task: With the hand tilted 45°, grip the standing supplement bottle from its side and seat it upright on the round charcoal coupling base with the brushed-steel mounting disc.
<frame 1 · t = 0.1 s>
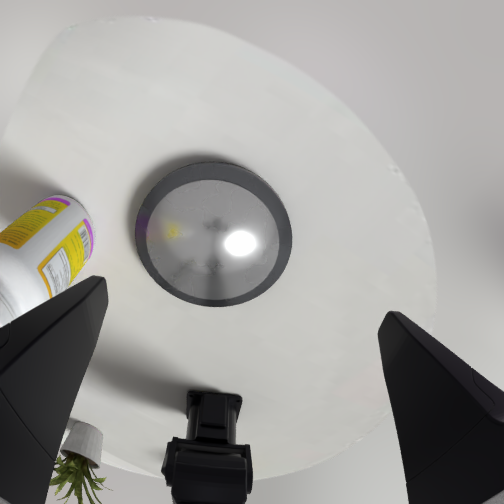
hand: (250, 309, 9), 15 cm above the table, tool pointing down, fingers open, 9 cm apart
coupling base: (212, 237, 24), on the table
house plant: (96, 432, 41), on the table
supplement bottle: (67, 228, 24), on the table
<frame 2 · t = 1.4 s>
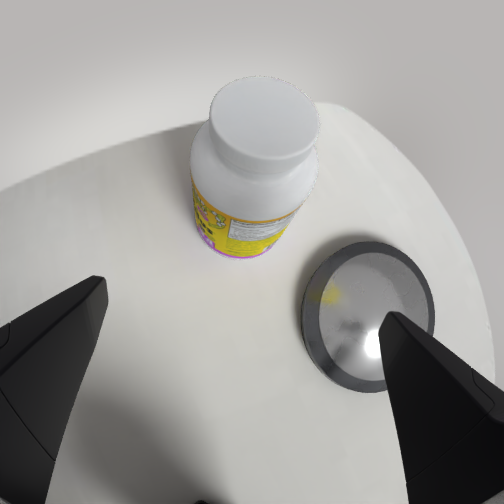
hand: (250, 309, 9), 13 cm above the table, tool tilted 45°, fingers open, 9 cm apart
coupling base: (371, 317, 24), on the table
supplement bottle: (238, 221, 25), on the table
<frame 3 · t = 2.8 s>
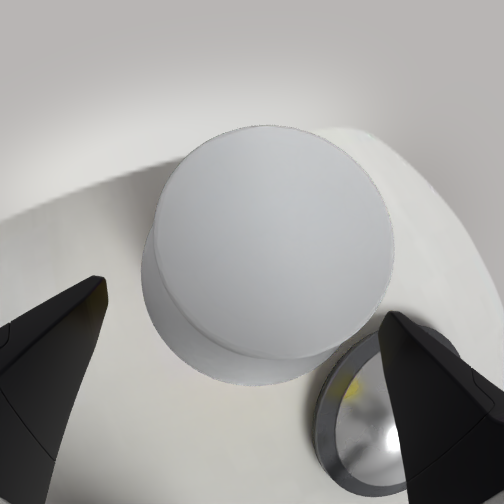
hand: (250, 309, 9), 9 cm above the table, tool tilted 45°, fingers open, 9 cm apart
coupling base: (397, 413, 17), on the table
supplement bottle: (233, 305, 18), on the table
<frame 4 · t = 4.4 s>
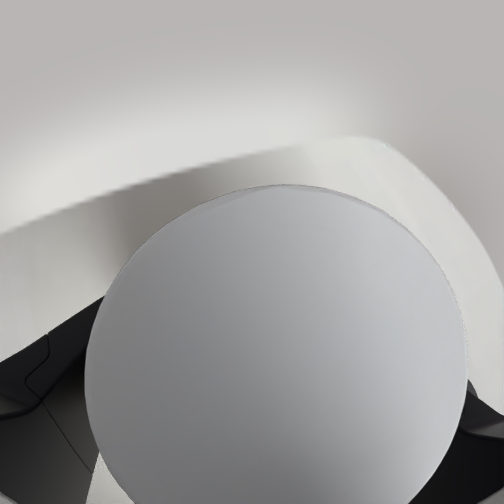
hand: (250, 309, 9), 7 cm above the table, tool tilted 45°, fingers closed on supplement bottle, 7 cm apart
supplement bottle: (231, 348, 15), on the table, touching gripper
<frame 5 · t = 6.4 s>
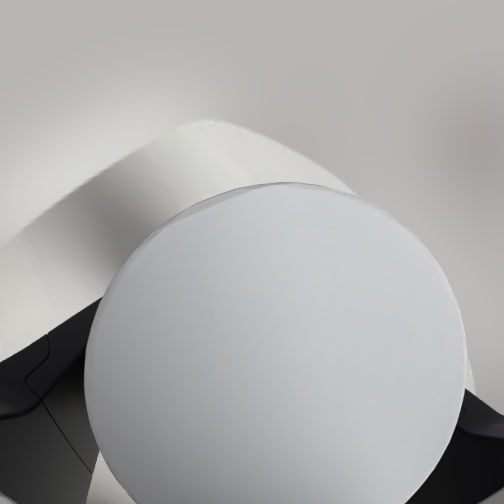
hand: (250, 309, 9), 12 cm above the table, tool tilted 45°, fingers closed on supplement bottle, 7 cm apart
supplement bottle: (230, 347, 15), point 5 cm above the table, touching gripper
when the fingers open (8 cm above the table, at t = 8.7 s): supplement bottle stays where it is, resting on coupling base.
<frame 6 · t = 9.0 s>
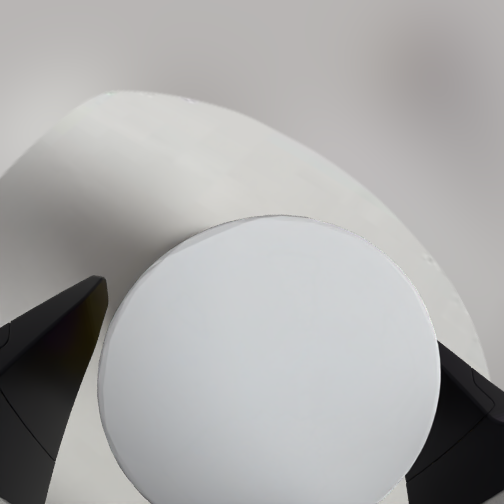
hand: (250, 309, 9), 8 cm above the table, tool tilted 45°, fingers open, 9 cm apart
supplement bottle: (229, 351, 16), point 1 cm above the table, touching coupling base
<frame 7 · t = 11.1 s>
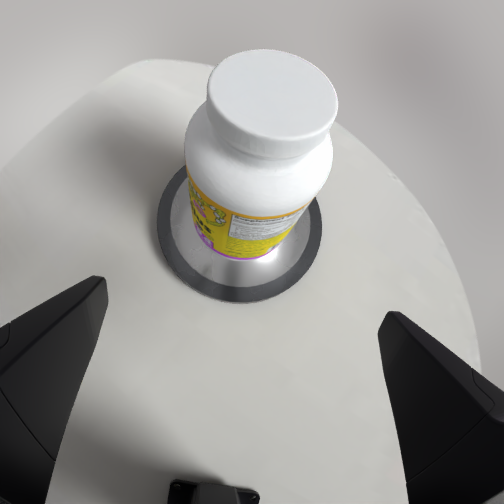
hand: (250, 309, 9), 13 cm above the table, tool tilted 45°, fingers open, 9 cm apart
coupling base: (239, 222, 23), on the table
supplement bottle: (240, 219, 22), point 1 cm above the table, touching coupling base
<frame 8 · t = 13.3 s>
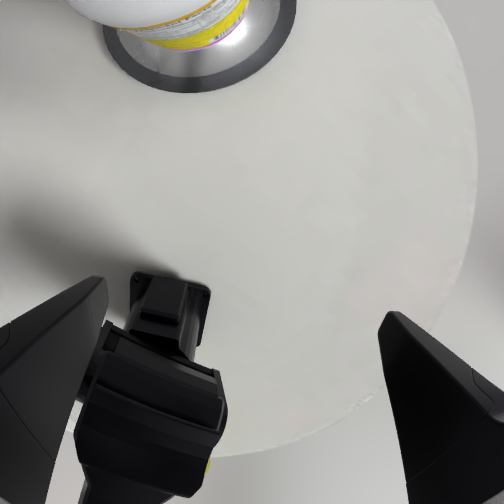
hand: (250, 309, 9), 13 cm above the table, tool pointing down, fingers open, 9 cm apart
coupling base: (197, 7, 15), on the table
supplement bottle: (192, 5, 14), point 1 cm above the table, touching coupling base
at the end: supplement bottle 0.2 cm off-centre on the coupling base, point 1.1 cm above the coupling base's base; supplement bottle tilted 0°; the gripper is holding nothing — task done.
